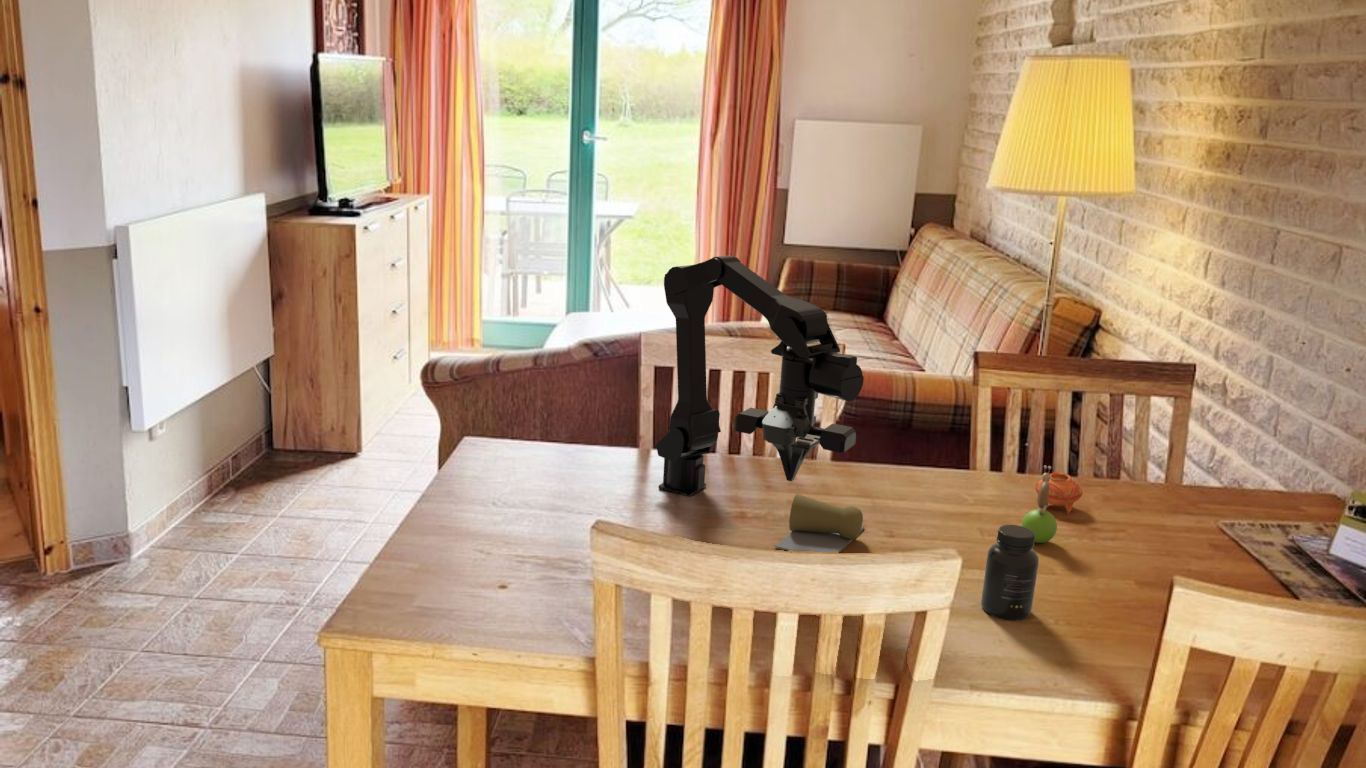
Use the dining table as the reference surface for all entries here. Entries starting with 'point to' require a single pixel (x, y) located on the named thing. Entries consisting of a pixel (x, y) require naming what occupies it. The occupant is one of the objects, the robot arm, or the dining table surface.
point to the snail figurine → (1041, 514)
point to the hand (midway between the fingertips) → (790, 480)
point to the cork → (824, 517)
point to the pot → (1062, 490)
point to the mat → (814, 541)
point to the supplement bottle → (1010, 574)
